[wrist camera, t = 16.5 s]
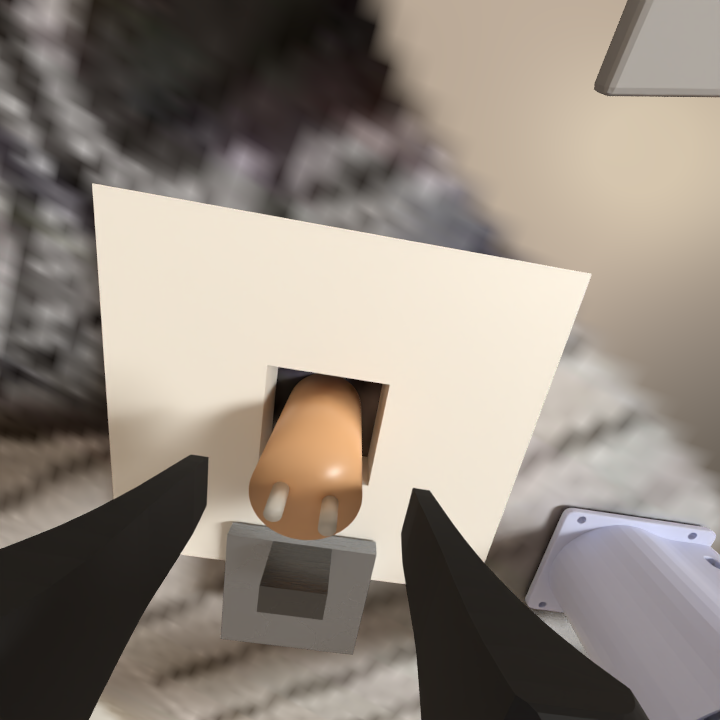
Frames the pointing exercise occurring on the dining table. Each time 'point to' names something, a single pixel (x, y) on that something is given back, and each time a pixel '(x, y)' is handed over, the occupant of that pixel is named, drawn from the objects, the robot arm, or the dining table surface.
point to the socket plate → (321, 357)
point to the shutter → (295, 589)
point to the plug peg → (312, 462)
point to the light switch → (664, 50)
